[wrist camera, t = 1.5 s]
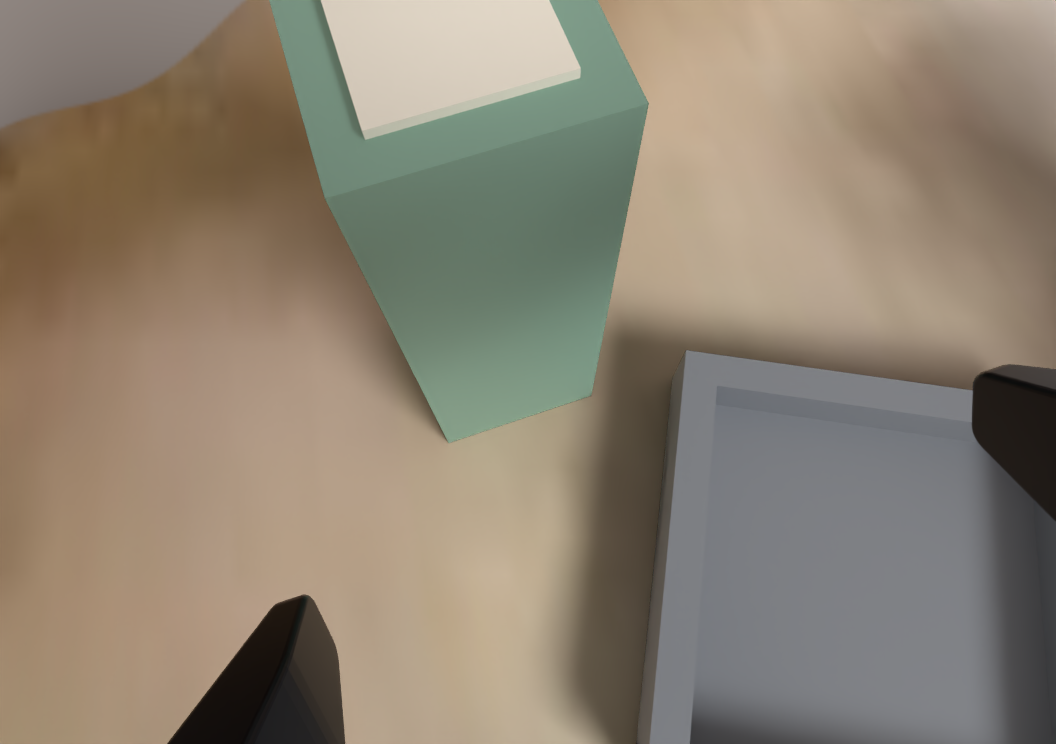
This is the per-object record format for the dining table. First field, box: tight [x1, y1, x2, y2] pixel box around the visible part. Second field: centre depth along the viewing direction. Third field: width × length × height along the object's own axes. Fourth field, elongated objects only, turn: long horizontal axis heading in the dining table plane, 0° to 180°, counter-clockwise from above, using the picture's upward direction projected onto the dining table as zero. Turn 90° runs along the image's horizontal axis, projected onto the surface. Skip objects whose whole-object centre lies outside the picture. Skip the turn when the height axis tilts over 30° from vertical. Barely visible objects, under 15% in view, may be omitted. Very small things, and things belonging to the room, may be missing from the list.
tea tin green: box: [269, 0, 649, 443], centre depth 18 cm, size 5×5×14 cm
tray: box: [636, 350, 1056, 744], centre depth 20 cm, size 12×12×2 cm
